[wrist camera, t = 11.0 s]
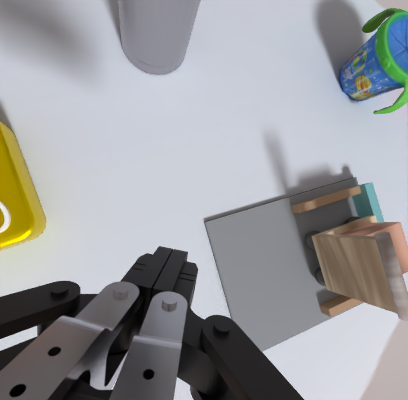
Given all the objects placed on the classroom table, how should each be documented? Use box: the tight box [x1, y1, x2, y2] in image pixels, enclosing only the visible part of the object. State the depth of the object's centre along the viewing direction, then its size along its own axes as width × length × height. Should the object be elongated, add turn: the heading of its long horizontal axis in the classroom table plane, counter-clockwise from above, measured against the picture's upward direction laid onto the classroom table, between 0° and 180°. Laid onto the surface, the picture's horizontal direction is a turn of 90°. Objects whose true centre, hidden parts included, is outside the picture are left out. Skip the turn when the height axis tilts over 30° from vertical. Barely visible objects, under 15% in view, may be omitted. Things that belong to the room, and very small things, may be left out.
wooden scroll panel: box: [305, 215, 408, 321], centre depth 34 cm, size 11×9×14 cm
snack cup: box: [340, 8, 408, 114], centre depth 41 cm, size 16×10×10 cm
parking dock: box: [204, 177, 384, 352], centre depth 38 cm, size 28×20×4 cm
